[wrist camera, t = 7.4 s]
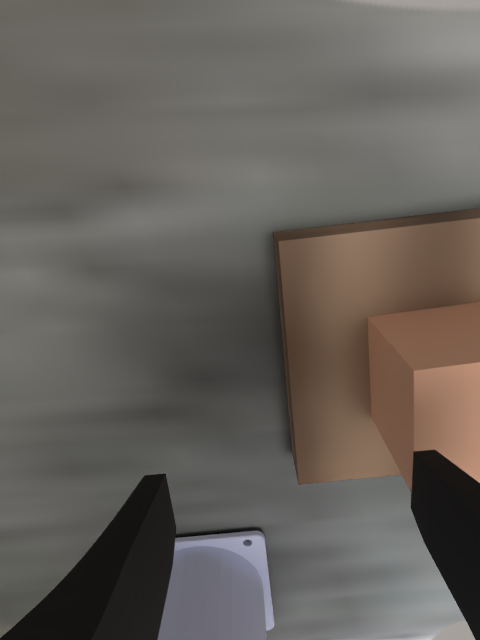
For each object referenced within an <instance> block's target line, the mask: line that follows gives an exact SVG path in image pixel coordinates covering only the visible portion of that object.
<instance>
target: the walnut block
mask: <svg viewBox="0 0 480 640" xmlns="http://www.w3.org/2000/svg"><path fill="white" fill-rule="evenodd" d="M273 235H274V247H275V258H276V270H277V281H278V293H279V305H280V316H281V328H282V340H283V351H284V363H285V374H286V386H287V398H288V409H289V421H290V432H291V444H292V454H293V459H294V464H295V469H296V474H297V479H298V484H299V485H300V484H310V483H320V482H330V481H340V480H350V479H360V478H370V477H380V476H390V475H400V474H401V472H400V470H399V468H398V466H397V465H396V463H395V461H394V459H393V457H392V455H391V453H390V451H389V450H388V448H387V446H386V444H385V442H384V440H383V438H382V437H381V435H380V433H379V431H378V429H377V427H376V425H375V423H374V422H373V420H372V416H371V392H370V367H369V343H368V319H367V317H371V316H379V315H386V314H394V313H401V312H409V311H416V310H423V309H431V308H438V307H446V306H453V305H461V304H468V303H476V302H480V208H479V209H470V210H462V211H453V212H445V213H436V214H427V215H419V216H410V217H402V218H393V219H384V220H376V221H367V222H359V223H350V224H341V225H333V226H324V227H316V228H307V229H298V230H290V231H281V232H273Z"/></svg>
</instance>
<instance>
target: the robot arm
mask: <svg viewBox="0 0 480 640" xmlns="http://www.w3.org/2000/svg"><path fill="white" fill-rule="evenodd" d="M411 509H412V512H413V515H414V517H415V520H416V523H417V525H418V528H419V530H420V533H421V535H422V538H423V540H424V542H425V545H426V546H427V548H428V550H429V552H430V554H431V556H432V558H433V560H434V562H435V564H436V566H437V567H438V569H439V571H440V573H441V575H442V577H443V579H444V580H445V582H446V584H447V586H448V588H449V590H450V592H451V594H452V595H453V597H454V599H455V601H456V603H457V605H458V607H459V608H460V610H461V612H462V614H463V616H464V618H465V620H466V621H467V623H468V625H469V627H470V629H471V631H472V633H473V635H474V637H475V639H476V640H480V483H479V482H478V481H476V480H475V479H474V478H472V477H471V476H470V475H468V474H467V473H466V472H464V471H463V470H462V469H460V468H459V467H458V466H456V465H455V464H454V463H452V462H451V461H450V460H448V459H447V458H446V457H444V456H443V455H442V454H440V453H439V452H438V451H436V450H425V451H413V472H412V494H411ZM175 536H176V525H175V520H174V514H173V509H172V504H171V499H170V494H169V489H168V484H167V479H166V474H157V475H145V476H144V477H143V478H142V480H141V481H140V482H139V484H138V485H137V487H136V488H135V490H134V491H133V492H132V494H131V495H130V497H129V498H128V500H127V501H126V502H125V504H124V505H123V507H122V508H121V509H120V511H119V512H118V513H117V515H116V516H115V517H114V519H113V520H112V521H111V523H110V524H109V525H108V527H107V528H106V529H105V531H104V532H103V533H102V534H101V536H100V537H99V538H98V539H97V541H96V542H95V543H94V544H93V546H92V547H91V548H90V549H89V550H88V552H87V553H86V554H85V555H84V556H83V558H82V559H81V560H80V561H79V562H78V563H77V565H76V566H75V567H74V568H73V569H72V570H71V571H70V572H69V573H68V575H67V576H66V577H65V578H64V579H63V580H62V581H61V582H60V583H59V584H58V585H57V586H56V587H55V588H54V589H53V590H52V591H51V592H50V593H49V594H48V595H47V596H46V597H45V598H44V599H43V600H42V601H41V602H40V603H39V604H38V605H37V606H36V607H35V608H33V609H32V610H31V611H30V612H29V613H28V614H27V615H26V616H25V617H24V618H23V619H22V620H20V621H19V622H18V623H17V624H16V625H15V626H14V627H13V628H12V629H11V630H9V631H8V632H7V633H6V634H5V635H3V636H2V637H1V638H0V640H267V634H266V631H268V630H271V629H272V628H273V627H274V615H273V606H272V598H271V589H270V580H269V572H268V563H267V554H266V546H265V537H264V534H263V533H262V532H260V531H247V532H236V533H225V534H214V535H203V536H192V537H181V538H175ZM245 540H249V541H245Z"/></svg>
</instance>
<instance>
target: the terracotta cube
mask: <svg viewBox="0 0 480 640" xmlns="http://www.w3.org/2000/svg"><path fill="white" fill-rule="evenodd" d="M367 319H368V343H369V367H370V392H371V416H372V420H373V422H374V423H375V425H376V427H377V429H378V431H379V433H380V435H381V437H382V438H383V440H384V442H385V444H386V446H387V448H388V450H389V451H390V453H391V455H392V457H393V459H394V461H395V463H396V465H397V466H398V468H399V470H400V472H401V474H402V476H403V478H404V480H405V481H406V483H407V485H408V487H409V489H410V491H411V493H412V472H413V451H425V450H436V451H438V452H439V453H440V454H442V455H443V456H444V457H446V458H447V459H448V460H450V461H451V462H452V463H454V464H455V465H456V466H458V467H459V468H460V469H462V470H463V471H464V472H466V473H467V474H468V475H470V476H471V477H472V478H474V479H475V480H476V481H478V482H479V483H480V302H476V303H468V304H461V305H453V306H446V307H438V308H431V309H423V310H416V311H409V312H401V313H394V314H386V315H379V316H371V317H367Z"/></svg>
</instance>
